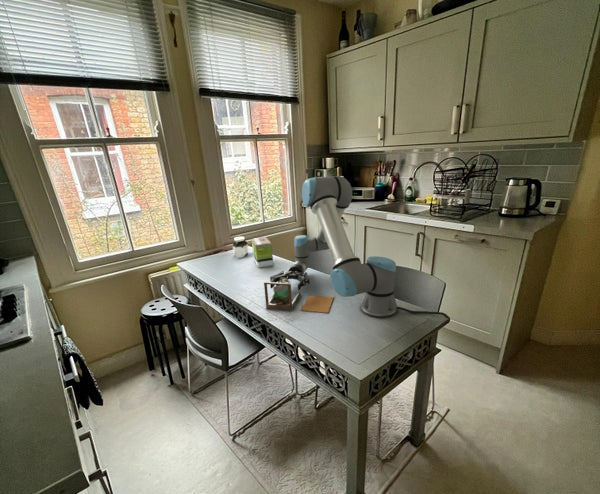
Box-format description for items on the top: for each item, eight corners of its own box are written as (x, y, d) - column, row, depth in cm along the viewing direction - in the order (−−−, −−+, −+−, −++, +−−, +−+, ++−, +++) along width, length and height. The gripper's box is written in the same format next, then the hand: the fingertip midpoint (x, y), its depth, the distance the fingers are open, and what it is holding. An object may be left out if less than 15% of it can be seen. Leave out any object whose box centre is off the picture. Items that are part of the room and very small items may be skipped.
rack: (301, 295, 154) (300, 270, 148) (291, 311, 139) (290, 284, 134) (277, 293, 157) (275, 269, 151) (266, 308, 143) (263, 282, 137)
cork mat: (333, 298, 150) (333, 297, 149) (327, 313, 136) (327, 312, 136) (309, 296, 153) (309, 295, 152) (301, 310, 139) (301, 310, 139)
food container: (288, 307, 143) (286, 287, 138) (274, 307, 144) (273, 287, 140) (293, 296, 154) (292, 277, 149) (281, 295, 155) (280, 276, 151)
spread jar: (244, 251, 223) (242, 235, 219) (253, 255, 215) (251, 238, 211) (229, 255, 217) (227, 239, 212) (238, 259, 209) (235, 242, 204)
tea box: (253, 260, 205) (251, 238, 199) (268, 258, 208) (266, 236, 201) (257, 268, 192) (255, 244, 186) (273, 265, 194) (271, 242, 188)
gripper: (320, 278, 164) (310, 296, 145) (275, 275, 171) (260, 292, 152) (320, 265, 161) (310, 281, 142) (274, 262, 167) (259, 277, 149)
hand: (284, 286), depth 147 cm, fingers open, 13 cm apart
